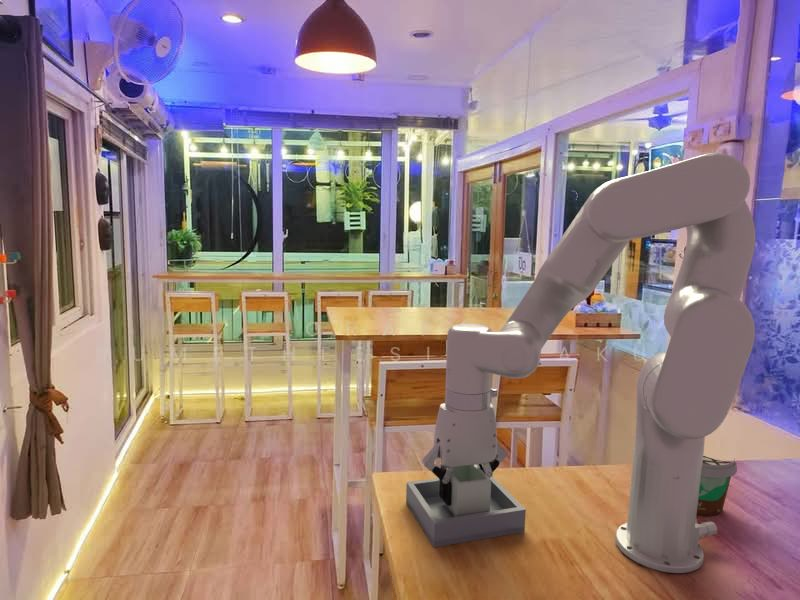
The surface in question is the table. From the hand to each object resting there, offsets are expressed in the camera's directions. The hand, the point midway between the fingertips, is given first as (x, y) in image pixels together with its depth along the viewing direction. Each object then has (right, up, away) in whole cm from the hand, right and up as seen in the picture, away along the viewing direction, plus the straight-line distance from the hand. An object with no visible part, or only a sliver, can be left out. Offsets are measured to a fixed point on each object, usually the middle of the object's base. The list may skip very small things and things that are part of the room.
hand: (463, 498), depth 96 cm
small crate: (0, -1, 0) cm, 1 cm away
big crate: (0, -3, +1) cm, 3 cm away
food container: (+42, -4, +4) cm, 42 cm away
